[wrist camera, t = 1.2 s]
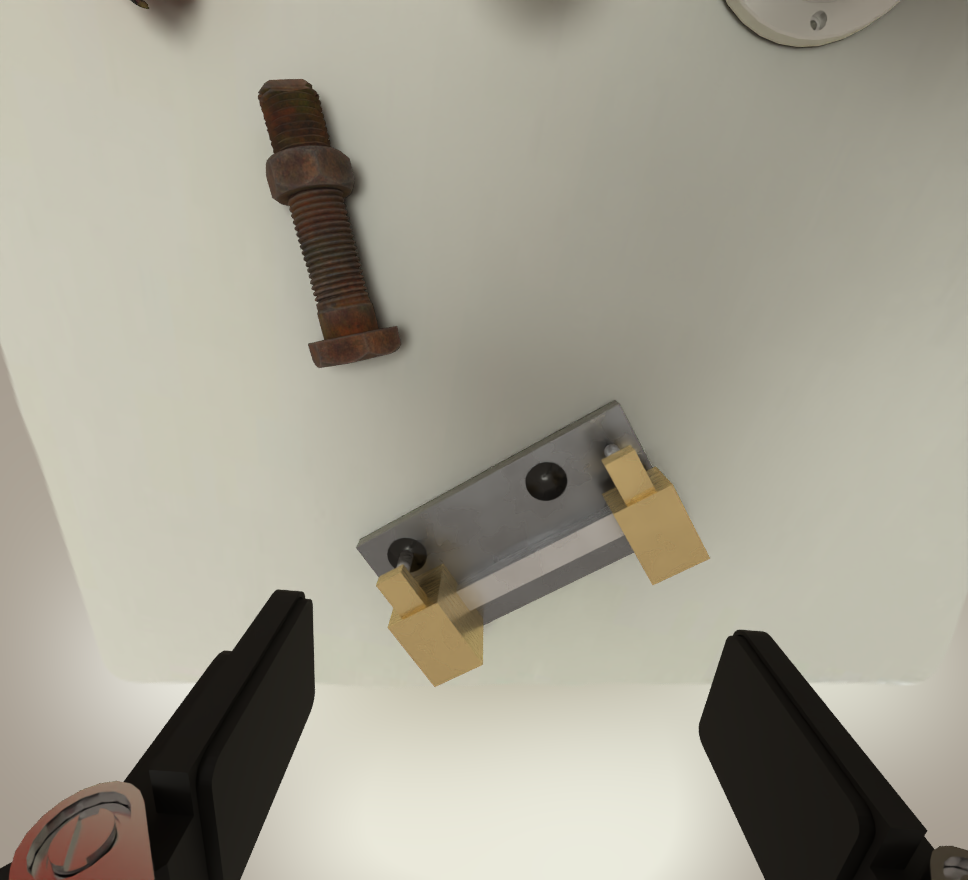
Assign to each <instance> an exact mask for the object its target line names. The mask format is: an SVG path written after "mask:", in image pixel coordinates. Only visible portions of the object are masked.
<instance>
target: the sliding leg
mask: <svg viewBox="0 0 968 880" xmlns="http://www.w3.org/2000/svg"><path fill="white" fill-rule="evenodd" d="M604 454H605V455H606V458H604V459H602V460H601V461H602V463H603V464H604V466H605V468H606V470H607V472H608V474H609V475H610V477H611V479H612V481H613V483H614V485H615V486H616V487H615V488H613V489H611V490H609V491H607V492H605V493H603V494H602V495H603V497H604V499H605V501H606V503H607V504H608V506H609V508H610V510H611V511H612V513H613V515H614V517H615V519H616V520H617V522H618V524H619V526H620V528H621V529H622V531H623V533H624V535H625V536H626V538H627V540H628V542H629V544H630V545H631V547H632V549H633V551H634V553H635V554H636V556H637V558H638V560H639V561H640V563H641V565H642V567H643V569H644V570H645V572H646V574H647V576H648V578H649V579H650V581H651V583H652V585H654V584H657V583H659V582H661V581H663V580H665V579H667V578H669V577H672V576H674V575H676V574H678V573H680V572H682V571H684V570H686V569H689V568H691V567H693V566H695V565H697V564H699V563H701V562H704V561H706V560H708V559H710V557H709V555H708V553H707V551H706V549H705V547H704V546H703V544H702V542H701V540H700V538H699V536H698V534H697V532H696V530H695V528H694V526H693V524H692V522H691V520H690V518H689V516H688V514H687V512H686V510H685V508H684V506H683V504H682V502H681V500H680V498H679V496H678V494H677V492H676V490H675V488H674V486H673V484H672V483H671V482H670V481H669V480H668V479H667V478H666V477H665V476H664V475H663V474H662V473H661V472H660V471H659V470H658V468H657V467H654V468H652V469H650V470H648V471H645V469H644V467H643V465H642V463H641V461H640V459H639V457H638V455H637V453H636V451H635V450H634V449H633V448H632V446H631V445H629V446H627V447H625V448H623V449H621V450H620V449H619V448H618V447H617V446H616V445H614V444H610V445H608V446H606V447H605V449H604Z"/></svg>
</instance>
